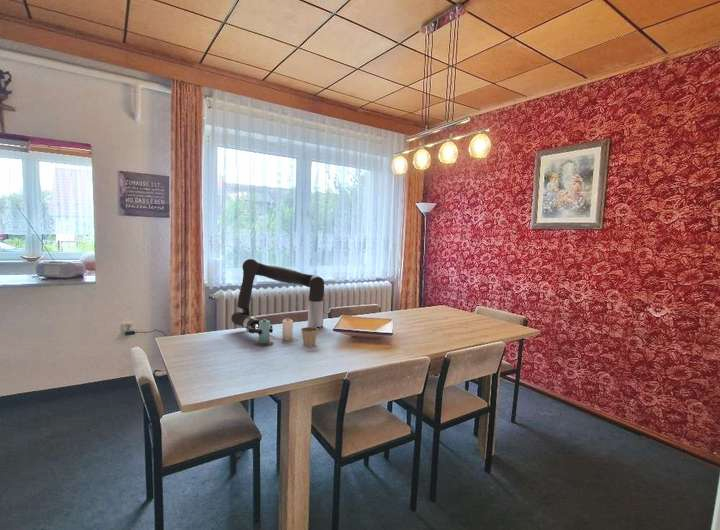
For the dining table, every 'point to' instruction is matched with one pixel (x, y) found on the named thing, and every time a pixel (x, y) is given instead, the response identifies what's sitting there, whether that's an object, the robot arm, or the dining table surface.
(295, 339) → the tile
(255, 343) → the mat
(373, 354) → the dining table surface
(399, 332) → the dining table surface
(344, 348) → the dining table surface
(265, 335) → the jar teal
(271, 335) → the tile
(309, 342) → the flower pot
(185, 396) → the dining table surface
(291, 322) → the peach pillar candle
